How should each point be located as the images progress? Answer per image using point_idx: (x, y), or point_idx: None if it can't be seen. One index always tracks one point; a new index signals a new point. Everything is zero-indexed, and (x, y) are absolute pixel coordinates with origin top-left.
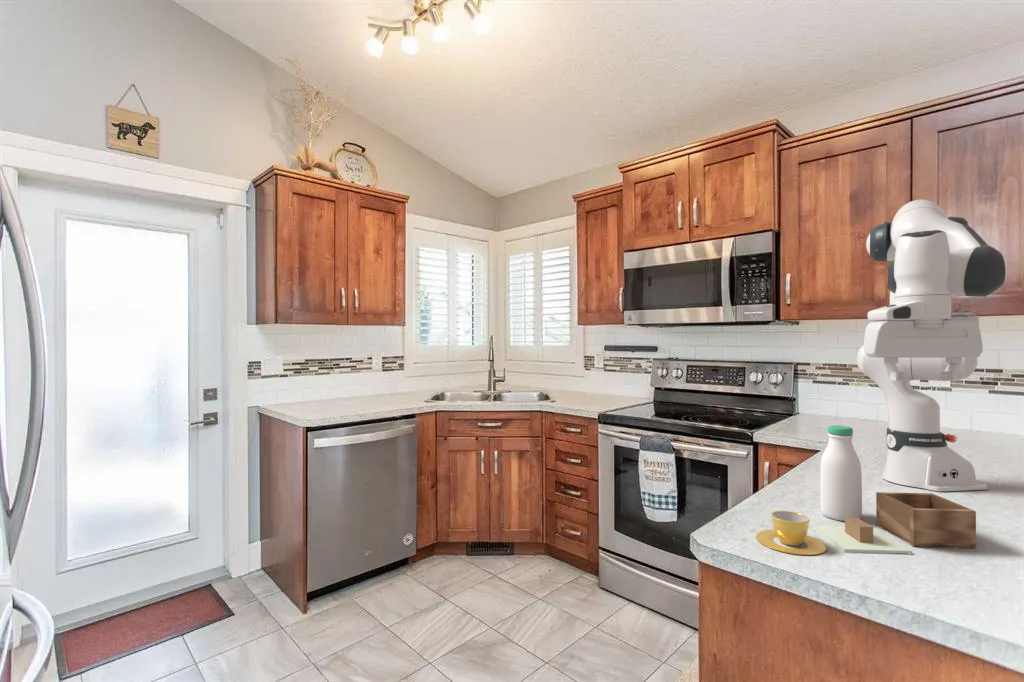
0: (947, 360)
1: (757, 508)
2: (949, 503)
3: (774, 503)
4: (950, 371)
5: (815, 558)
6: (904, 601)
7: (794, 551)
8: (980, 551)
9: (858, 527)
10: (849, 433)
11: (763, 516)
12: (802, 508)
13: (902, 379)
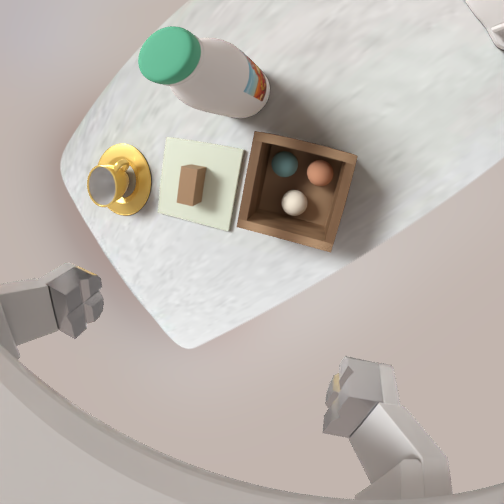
0: (391, 484)
1: None
2: (334, 207)
3: None
4: (353, 435)
5: (125, 221)
6: (151, 302)
7: (113, 206)
8: None
9: (177, 199)
10: (172, 83)
11: (136, 92)
12: None
13: (95, 312)
